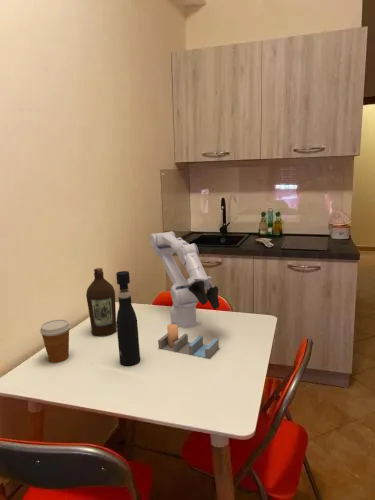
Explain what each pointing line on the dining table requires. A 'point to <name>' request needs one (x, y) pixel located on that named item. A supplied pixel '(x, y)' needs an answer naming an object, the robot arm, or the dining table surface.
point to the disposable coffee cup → (56, 339)
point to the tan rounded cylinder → (172, 334)
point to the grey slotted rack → (190, 346)
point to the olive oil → (101, 305)
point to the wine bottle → (127, 324)
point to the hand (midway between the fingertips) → (211, 305)
